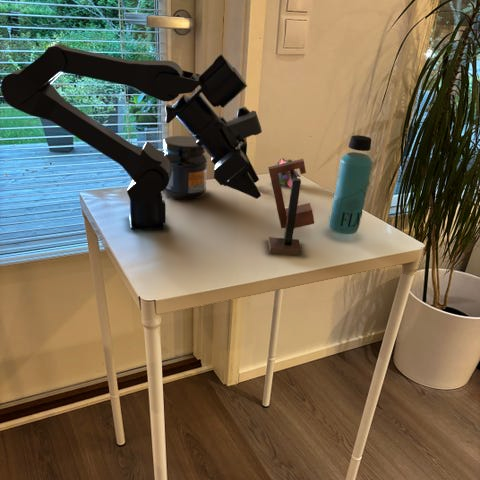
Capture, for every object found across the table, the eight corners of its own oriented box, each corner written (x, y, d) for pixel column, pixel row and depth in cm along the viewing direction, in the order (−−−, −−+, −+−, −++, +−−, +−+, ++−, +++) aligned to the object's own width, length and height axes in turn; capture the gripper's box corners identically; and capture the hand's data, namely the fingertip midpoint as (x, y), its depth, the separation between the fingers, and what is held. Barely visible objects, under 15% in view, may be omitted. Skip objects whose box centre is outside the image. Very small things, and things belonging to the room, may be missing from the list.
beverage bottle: (334, 242, 103) (354, 141, 92) (321, 228, 108) (338, 131, 97) (362, 240, 105) (385, 141, 94) (348, 227, 110) (369, 132, 99)
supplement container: (215, 195, 120) (218, 143, 113) (179, 204, 114) (180, 149, 107) (187, 182, 126) (188, 132, 119) (152, 190, 120) (151, 137, 113)
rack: (269, 253, 96) (278, 182, 88) (264, 220, 110) (272, 156, 102) (300, 255, 96) (312, 185, 89) (292, 222, 110) (301, 158, 102)
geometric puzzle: (309, 181, 128) (300, 150, 127) (289, 184, 124) (279, 153, 124) (292, 190, 134) (283, 161, 133) (272, 194, 130) (263, 164, 130)
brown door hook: (281, 231, 102) (269, 171, 95) (280, 223, 105) (267, 165, 99) (315, 223, 101) (304, 162, 95) (312, 216, 105) (302, 156, 98)
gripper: (238, 104, 82) (296, 177, 89) (237, 85, 98) (286, 148, 104) (188, 150, 86) (247, 216, 93) (195, 124, 101) (245, 183, 108)
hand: (258, 188), depth 99 cm, fingers open, 9 cm apart
